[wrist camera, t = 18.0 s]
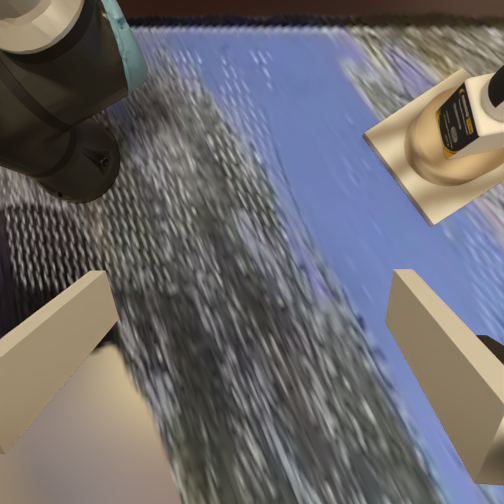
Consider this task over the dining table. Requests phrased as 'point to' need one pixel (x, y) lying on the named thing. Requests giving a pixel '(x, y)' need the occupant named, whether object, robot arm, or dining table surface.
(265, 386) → the dining table surface
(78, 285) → the robot arm
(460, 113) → the medicine bottle
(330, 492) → the dining table surface
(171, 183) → the dining table surface
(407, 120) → the post stand
